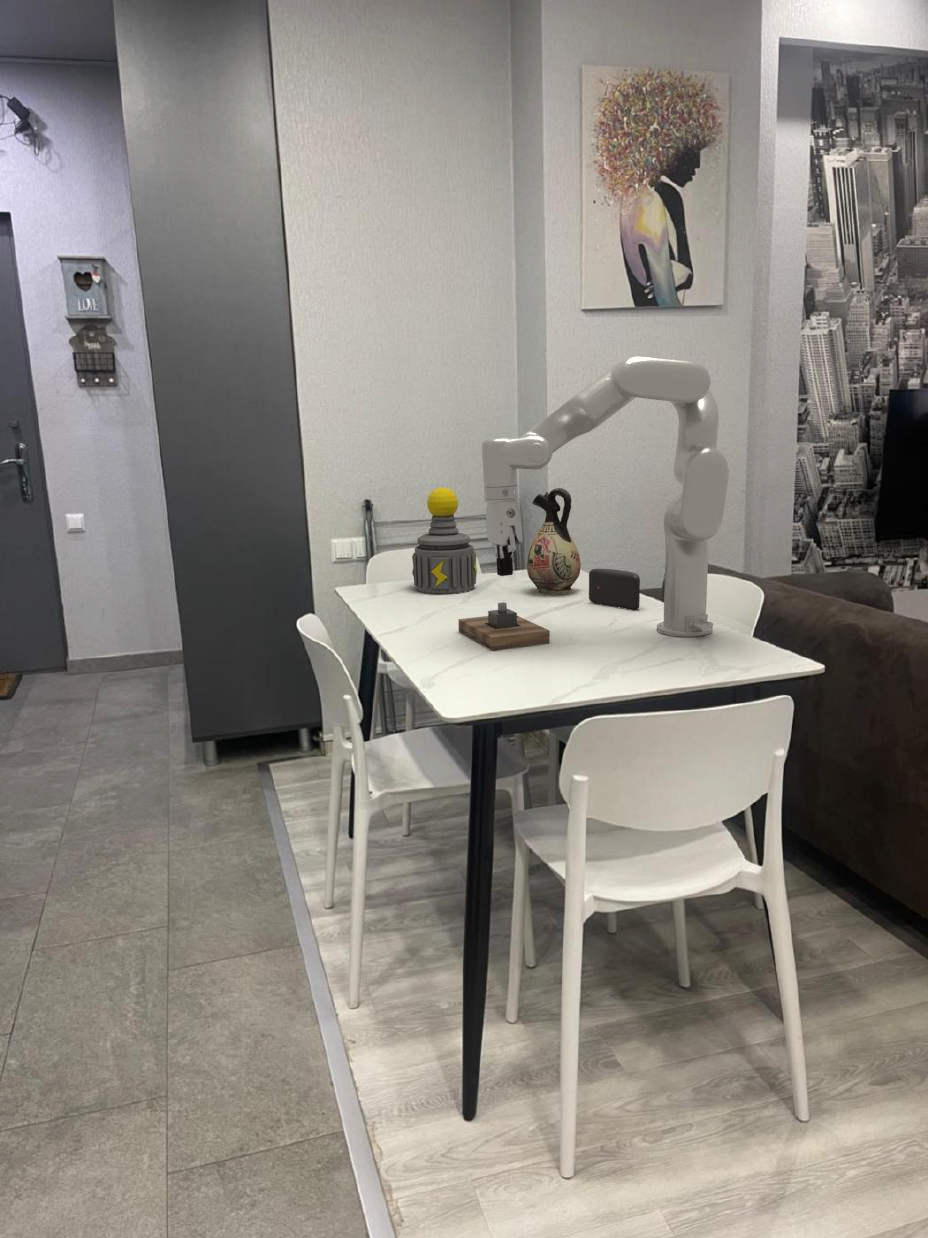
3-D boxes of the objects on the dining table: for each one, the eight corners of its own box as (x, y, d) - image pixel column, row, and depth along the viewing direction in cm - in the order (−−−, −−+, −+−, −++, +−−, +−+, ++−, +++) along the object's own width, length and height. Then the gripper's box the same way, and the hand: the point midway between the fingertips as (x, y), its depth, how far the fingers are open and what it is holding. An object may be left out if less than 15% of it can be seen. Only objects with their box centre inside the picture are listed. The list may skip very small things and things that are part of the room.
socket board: (549, 643, 199) (549, 630, 199) (492, 650, 194) (491, 637, 194) (512, 625, 218) (512, 613, 217) (458, 631, 213) (458, 619, 212)
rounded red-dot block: (647, 608, 232) (647, 573, 230) (636, 611, 229) (637, 575, 227) (598, 600, 244) (598, 566, 242) (587, 603, 241) (587, 568, 239)
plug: (517, 634, 205) (516, 604, 203) (497, 636, 203) (496, 606, 201) (508, 629, 209) (507, 600, 208) (488, 631, 207) (487, 602, 206)
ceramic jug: (515, 593, 256) (514, 488, 249) (548, 585, 267) (548, 484, 260) (563, 600, 245) (563, 490, 238) (595, 591, 256) (596, 486, 249)
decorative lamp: (408, 595, 258) (404, 490, 251) (419, 582, 276) (416, 485, 269) (472, 595, 255) (470, 489, 248) (480, 582, 273) (478, 484, 267)
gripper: (530, 494, 193) (534, 577, 197) (502, 490, 207) (506, 568, 211) (499, 497, 191) (503, 581, 195) (472, 493, 204) (477, 572, 208)
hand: (505, 574), depth 203 cm, fingers closed
